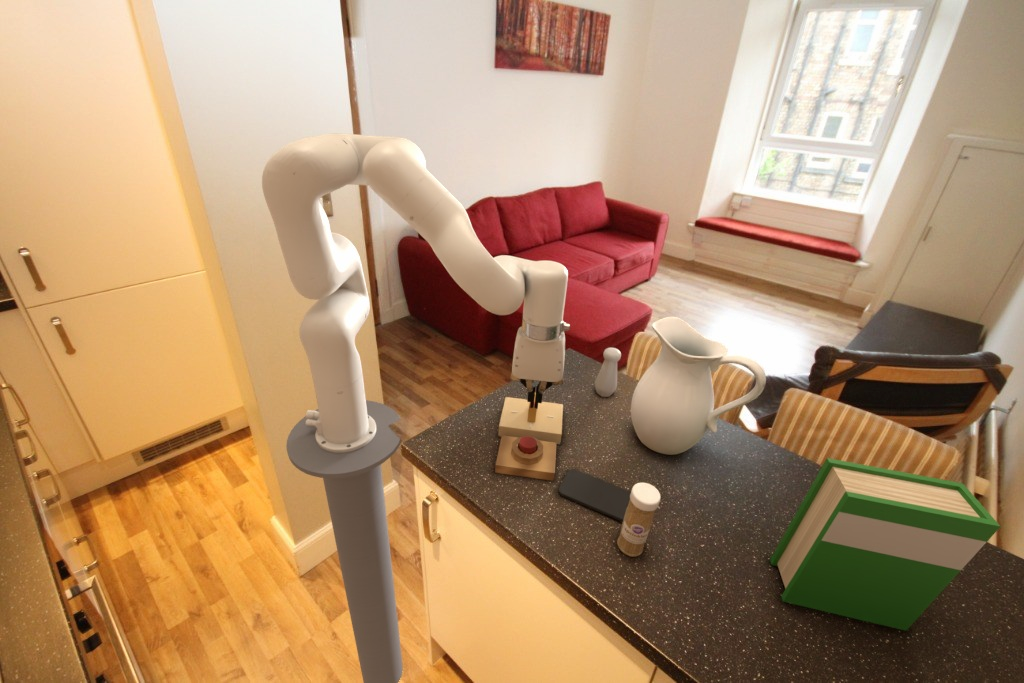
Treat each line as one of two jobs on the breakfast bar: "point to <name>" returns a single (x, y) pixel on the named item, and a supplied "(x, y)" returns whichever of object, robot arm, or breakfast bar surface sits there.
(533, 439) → the bell button
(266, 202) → the robot arm
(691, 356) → the pitcher
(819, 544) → the hardback book
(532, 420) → the red-tipped yellow block
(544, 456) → the wooden button base
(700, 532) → the breakfast bar surface
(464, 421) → the breakfast bar surface
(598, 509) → the phone
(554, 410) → the dial plate
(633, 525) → the sprinkles bottle
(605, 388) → the salt shaker
